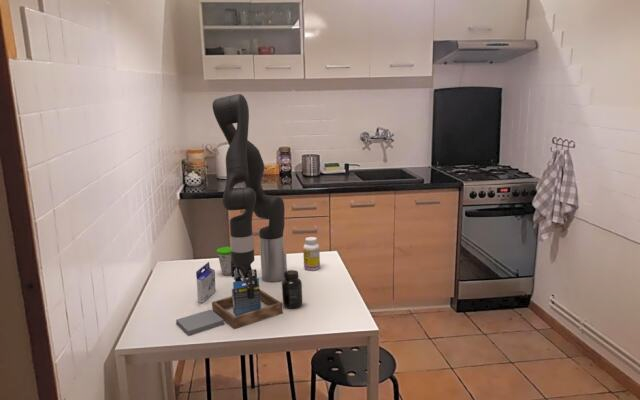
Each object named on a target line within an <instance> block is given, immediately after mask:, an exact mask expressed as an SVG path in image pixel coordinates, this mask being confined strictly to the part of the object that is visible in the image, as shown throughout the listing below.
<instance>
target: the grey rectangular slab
mask: <svg viewBox="0 0 640 400" xmlns="http://www.w3.org/2000/svg"><path fill="white" fill-rule="evenodd" d="M175 322H176V325H177V326H178V327H179V328H180V329H181V330H182V331H183V332H184V333H185V334H186V335H187V336H191V335H195V334H199V333H201V332H204V331H207V330H210V329H214V328H217V327H220V326H224V325H225V321H224V320H223V319H222V318H221V317H220V316H218V315H217V314H216V313H215V312H213V311H212V308H211V309H208V310H203V311H201V312H198V313H193V314H190V315H187V316H184V317H180V318H177V319H176V320H175Z"/></svg>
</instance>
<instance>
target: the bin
mask: <svg viewBox="0 0 640 400" xmlns="http://www.w3.org/2000/svg"><path fill="white" fill-rule="evenodd" d="M260 299H261V303H263V304H264V305H266V306H265V307H261V309H257V310H254V311H251V312H248V313H245V314H242V315H238V316H235V315H234V314H232V313H231V312H230V311H229V310H228V309H230V308H233V299H232V295H231V296H228V297H224V298H221V299H217V300H214V301H211V310H212V311H213V312H215V313H216V314H217V315H218V316H220V317H221V318H222V319H223V320H224V323H226V324H227V325H229V326H230V327H231V328H233V329H234V330H236V329H238V328H241V327H245V326H248V325H249V324H253V323H256V322H259V321H262V320H265V319H268V318H271V317H274V316H277V315H281V314H283V312H284V309H283V302H281V301H280V300H278V299H276V298H275V297H273V296H272V295H270V294H268V293H266V292H264V290H261V289H260Z"/></svg>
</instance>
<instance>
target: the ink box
mask: <svg viewBox="0 0 640 400" xmlns="http://www.w3.org/2000/svg"><path fill="white" fill-rule="evenodd" d="M195 276H196V287H197V290H196V291H197V302H198V303H199V304H204V303H205V302H206V300H208V299H209V298H210V297H211V296H212V295H213V294H214V293H215V292H216V270H215V269H213V268H211V266H210V261H208V262H207V263H205V264H204V265H203V266H202V267H200V268H199V269H197V270H196V272H195Z"/></svg>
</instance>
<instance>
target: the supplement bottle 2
mask: <svg viewBox="0 0 640 400" xmlns="http://www.w3.org/2000/svg"><path fill="white" fill-rule="evenodd" d="M317 241H318V238H317V237H315V236H309V237H305V244H304V245H303V247H302V248H303V250H302V251H303V268H304V270H306V271H316V270H319V269H320V267H321V261H320V260H321V259H320V258H321V257H320V244H318V243H317Z"/></svg>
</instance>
